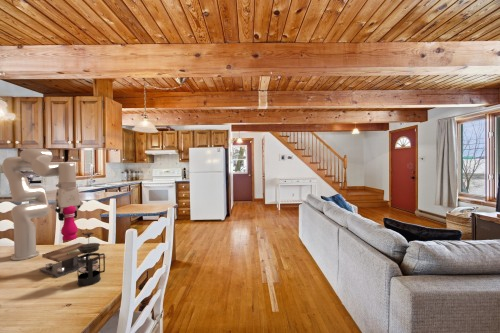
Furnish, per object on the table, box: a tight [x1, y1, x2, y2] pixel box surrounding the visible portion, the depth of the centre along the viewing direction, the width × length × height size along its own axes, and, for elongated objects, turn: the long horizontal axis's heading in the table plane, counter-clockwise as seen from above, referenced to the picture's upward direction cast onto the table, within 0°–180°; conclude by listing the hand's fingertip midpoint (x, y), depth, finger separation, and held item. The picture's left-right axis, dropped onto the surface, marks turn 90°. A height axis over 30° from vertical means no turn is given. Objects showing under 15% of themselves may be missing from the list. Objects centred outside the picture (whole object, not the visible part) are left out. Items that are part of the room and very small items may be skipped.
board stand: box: [39, 255, 99, 279], centre depth 131 cm, size 16×20×6 cm
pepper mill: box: [60, 206, 78, 242], centre depth 131 cm, size 7×7×20 cm
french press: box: [76, 231, 106, 287], centre depth 115 cm, size 12×9×23 cm
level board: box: [41, 242, 85, 263], centre depth 131 cm, size 15×18×2 cm
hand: (68, 218), depth 131 cm, fingers closed on pepper mill, 5 cm apart
